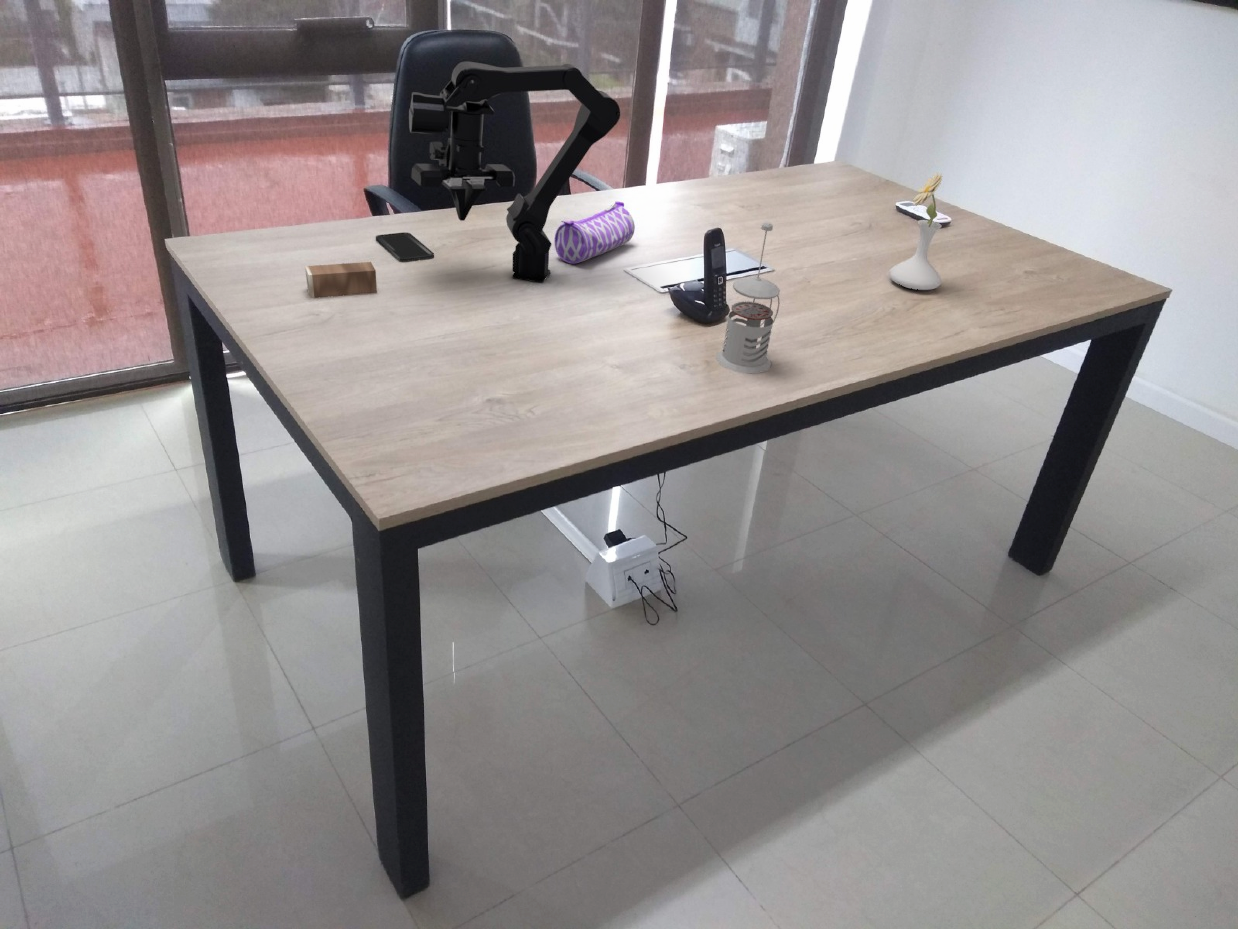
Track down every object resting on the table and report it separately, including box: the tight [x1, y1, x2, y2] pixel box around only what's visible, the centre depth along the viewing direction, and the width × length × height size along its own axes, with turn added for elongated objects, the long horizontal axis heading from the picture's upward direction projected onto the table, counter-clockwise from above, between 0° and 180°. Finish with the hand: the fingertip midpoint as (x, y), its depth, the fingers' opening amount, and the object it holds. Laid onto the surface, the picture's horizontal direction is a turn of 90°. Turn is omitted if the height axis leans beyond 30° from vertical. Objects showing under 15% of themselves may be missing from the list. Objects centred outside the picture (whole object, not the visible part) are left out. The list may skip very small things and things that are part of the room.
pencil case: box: [554, 201, 636, 265], centre depth 199 cm, size 22×9×9 cm, turn 150°
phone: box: [375, 231, 435, 263], centre depth 193 cm, size 8×1×15 cm
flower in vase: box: [888, 172, 943, 291], centre depth 194 cm, size 13×11×25 cm
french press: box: [715, 221, 781, 374], centre depth 155 cm, size 10×12×25 cm
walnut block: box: [304, 261, 378, 299], centre depth 170 cm, size 4×4×12 cm
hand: (461, 219), depth 176 cm, fingers closed
